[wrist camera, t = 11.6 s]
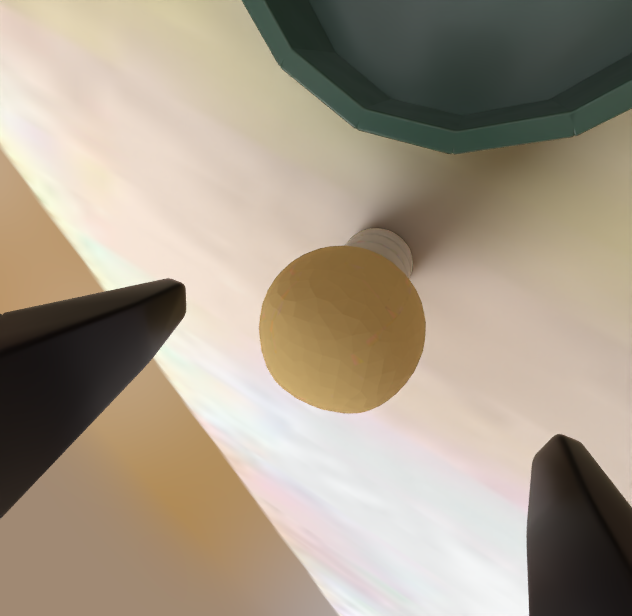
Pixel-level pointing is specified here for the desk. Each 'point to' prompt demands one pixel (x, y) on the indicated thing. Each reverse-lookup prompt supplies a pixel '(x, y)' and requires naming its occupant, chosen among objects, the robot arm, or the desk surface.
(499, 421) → the desk surface
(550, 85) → the tin
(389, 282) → the light bulb
